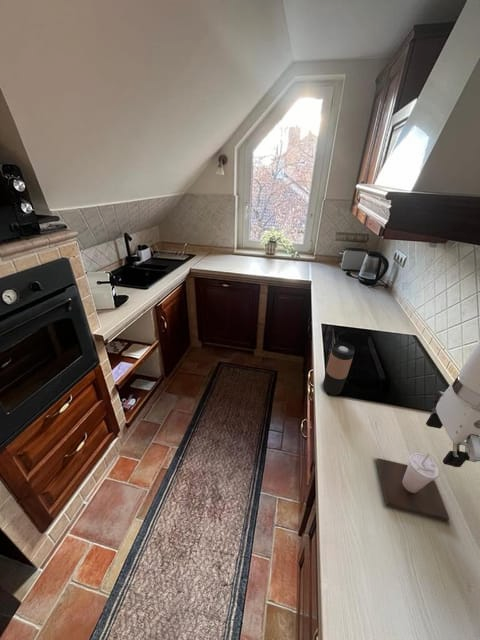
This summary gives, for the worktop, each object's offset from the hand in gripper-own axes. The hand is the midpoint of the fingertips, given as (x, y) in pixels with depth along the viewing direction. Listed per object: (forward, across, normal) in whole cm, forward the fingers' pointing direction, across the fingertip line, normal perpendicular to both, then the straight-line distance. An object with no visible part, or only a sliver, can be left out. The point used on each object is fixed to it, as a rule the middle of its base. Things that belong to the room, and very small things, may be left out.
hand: (441, 444), depth 59 cm
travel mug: (+20, +33, +19) cm, 43 cm away
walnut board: (+20, 0, +1) cm, 20 cm away
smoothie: (+19, 0, +1) cm, 19 cm away
